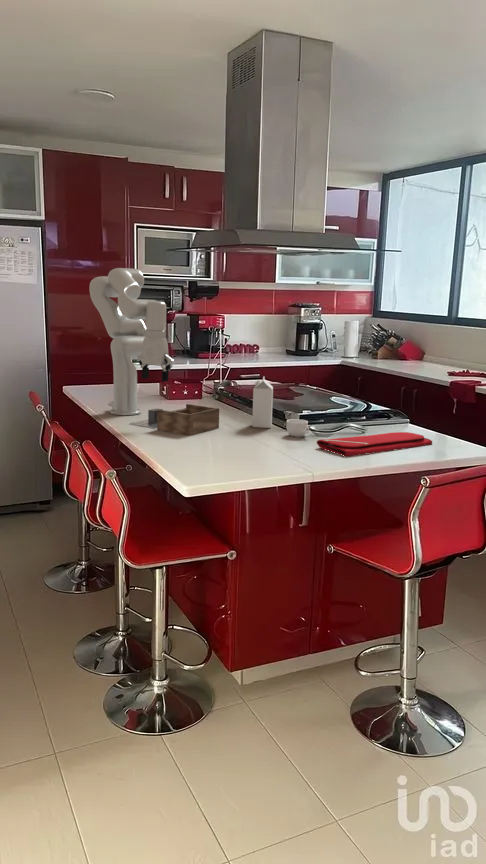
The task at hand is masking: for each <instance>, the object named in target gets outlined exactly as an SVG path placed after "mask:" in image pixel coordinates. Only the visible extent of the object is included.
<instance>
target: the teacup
mask: <svg viewBox="0 0 486 864" xmlns="http://www.w3.org/2000/svg"><path fill="white" fill-rule="evenodd" d="M308 424H309V421H308V420H305V419H300V418H299V419H297V418H296V419H295V418H291V419H287V420H286V432H287V434H288V435H289V436H290V435H291V437H293V436H295V437H294V438H302V437H304V436H305V435H306V434H308V433H309V431H310V427H309V425H308Z"/></svg>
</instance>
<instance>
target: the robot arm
mask: <svg viewBox="0 0 486 864" xmlns="http://www.w3.org/2000/svg"><path fill="white" fill-rule="evenodd" d="M144 284H145V276H144V274H143V272H142V271H141V270H140V269H137V268H131V267H130V268H129V267H124V268H123V267H116V268H113V269H112V270H110V271H109V272H108V274H107V276H105V275H104V276H103V275H102V276H97V277H96V276H95V277H94V278H93V279H92V280H91V281H90V283H89V287H88V288H89V295H90V296H89V297H90V299H91V302H92V304H93V306H94V307H95V308H96V309H97V311H98V313H99V314H100V317H101V320H102V322H103V324H104V327H105V329H106V332H107V334H108V336H109V337H110V338H111V339H112V341H111V342H110V352H111V359H112V366H113V367H112V370H113V400H111V401H109V402H108V403H107V405H108V406H109V407H111V409H110V410H109V413H110V414H111V415H115V416H135V415H140V414H141V412H142V410H141V409H140V408H138V371H137V367H136V366H135V364H134V362H133V361H132V360H137V361H138V364H139V365H140V368H141V369H142V370H141V371H142V372H141V379H143V380H144V379H149V377H150V368H149V367H150V366H156V367H159V366H160V367H161V370H162V371H161V382H163V383H164V382H168V381H169V373H170V371H171V368H173V365H174V363H175V360H174V359H173V358H172V357H171V356H170V355H169V344H168V338H167V337H166V336H167V335H166V334H167V304H166V303H165V302H164V301H161V300H159V301H158V300H156V299H146V298H145V299H143V298H142V299H141V298H139V297H140V295H141V291H142V288H143V287H144ZM111 298H117V302H116V301H114V300H113V299H111ZM144 321H145V322H144Z"/></svg>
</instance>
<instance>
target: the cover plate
mask: <svg viewBox="0 0 486 864" xmlns="http://www.w3.org/2000/svg"><path fill="white" fill-rule="evenodd" d="M157 410H164V409H163V408H152V409H148V410H147V411H148V412H147V413H148V415H147V417H148V419H144V420H139V421H135V422H134V421H133V422H130V423H129V425H130V424H132V426H136V425H137V427H142V426H143V427H144V428H148V429H157Z"/></svg>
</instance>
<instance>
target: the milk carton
mask: <svg viewBox="0 0 486 864" xmlns="http://www.w3.org/2000/svg"><path fill="white" fill-rule="evenodd" d="M265 377H266V376H264V375H263V377H262V380H260V379H257V381H255V382H254V384H255V386H254V387H253V391H252V392H253V393H252V394H253V395H252V420H251V421H252V422H251V424H252V425H251V426H252V428H261V429H262V428H264V429H267V428H268V429H271V428H272V424H273V405H274V404H273V401H274V386H273V385H271V383H270V382H269V381H267V380H266V379H265Z"/></svg>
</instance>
